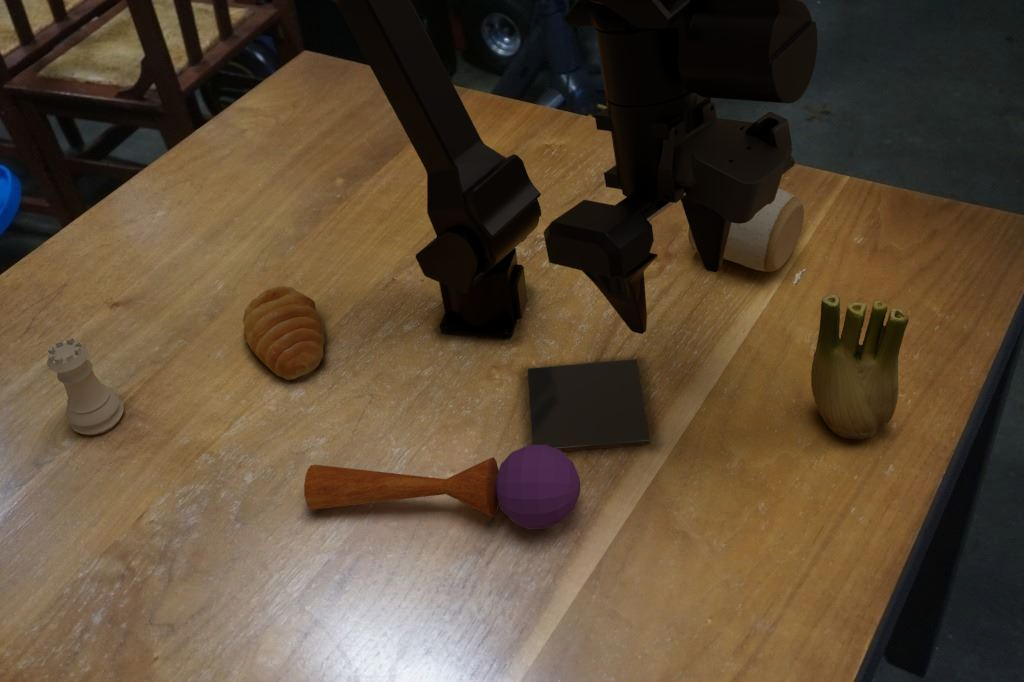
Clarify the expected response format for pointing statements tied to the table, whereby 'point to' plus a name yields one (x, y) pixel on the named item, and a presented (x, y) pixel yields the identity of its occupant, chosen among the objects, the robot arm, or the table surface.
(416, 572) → the table surface
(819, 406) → the fennel bulb
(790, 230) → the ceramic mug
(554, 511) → the kendama
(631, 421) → the slate coaster
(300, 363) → the pastry
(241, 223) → the table surface
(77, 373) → the rook chess piece
